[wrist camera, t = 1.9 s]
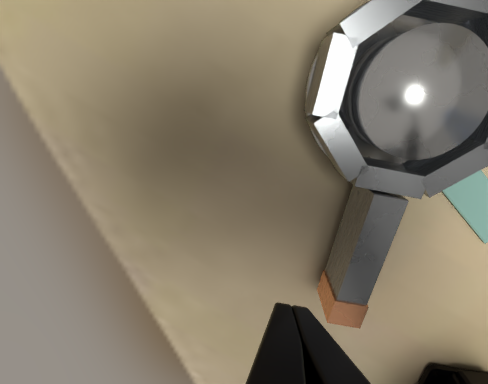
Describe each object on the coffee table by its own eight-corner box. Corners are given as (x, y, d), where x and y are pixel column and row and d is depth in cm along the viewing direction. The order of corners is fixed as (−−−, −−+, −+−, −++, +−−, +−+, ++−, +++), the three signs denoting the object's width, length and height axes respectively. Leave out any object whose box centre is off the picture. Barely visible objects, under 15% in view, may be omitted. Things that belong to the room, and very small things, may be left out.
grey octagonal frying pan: (398, 303, 21) (422, 339, 18) (262, 278, 21) (263, 311, 18) (528, 12, 15) (597, -6, 12) (338, -29, 15) (360, -58, 12)
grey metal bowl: (440, 190, 19) (481, 213, 16) (287, 160, 19) (294, 177, 15) (518, 14, 16) (590, -6, 12) (333, -26, 15) (355, -58, 12)
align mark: (516, 219, 20) (519, 221, 19) (483, 242, 20) (485, 243, 20) (474, 164, 18) (477, 164, 18) (440, 189, 19) (442, 190, 19)
